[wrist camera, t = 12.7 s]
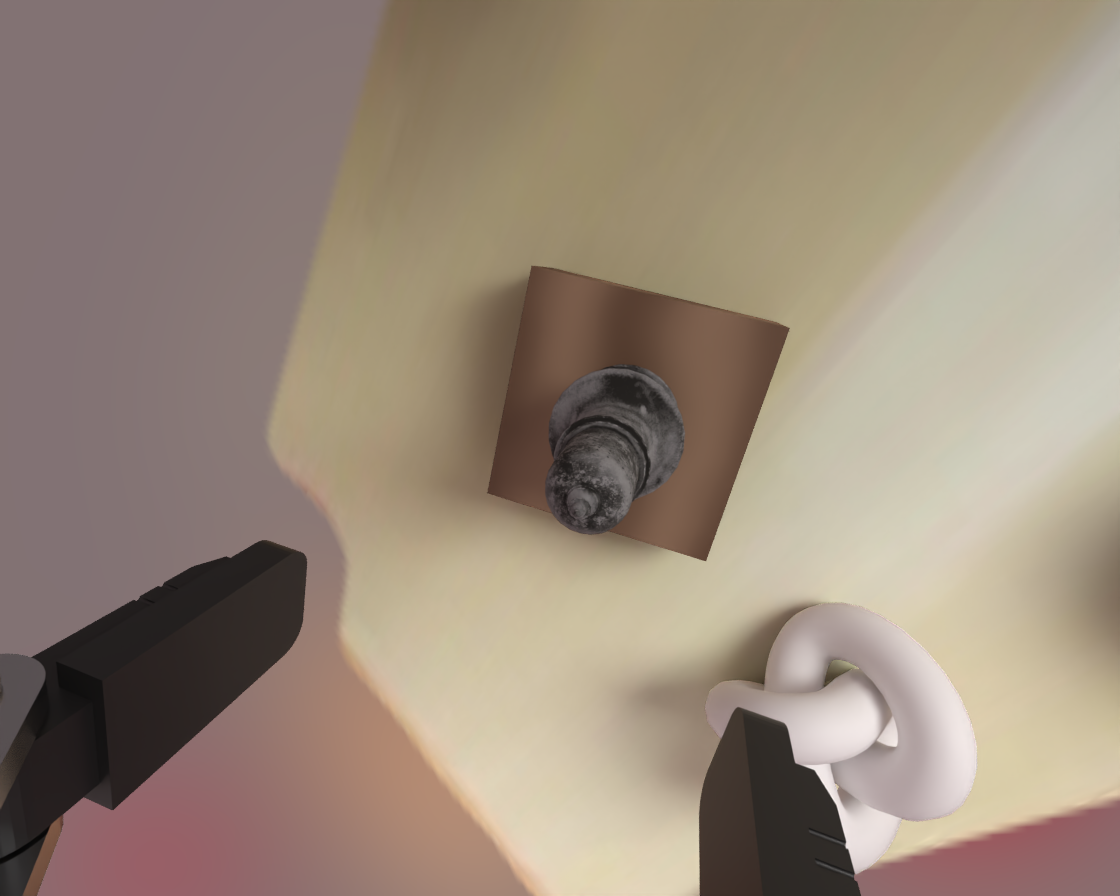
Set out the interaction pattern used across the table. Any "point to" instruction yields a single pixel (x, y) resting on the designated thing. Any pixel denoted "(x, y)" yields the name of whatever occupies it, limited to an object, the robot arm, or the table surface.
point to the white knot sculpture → (863, 721)
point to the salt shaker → (611, 446)
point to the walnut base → (669, 352)
